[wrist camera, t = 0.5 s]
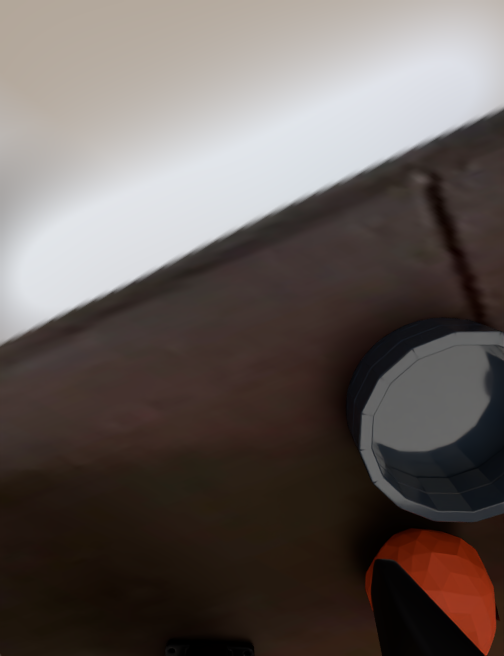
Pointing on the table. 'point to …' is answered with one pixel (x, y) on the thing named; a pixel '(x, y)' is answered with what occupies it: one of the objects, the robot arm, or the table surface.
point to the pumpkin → (446, 579)
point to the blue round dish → (433, 418)
